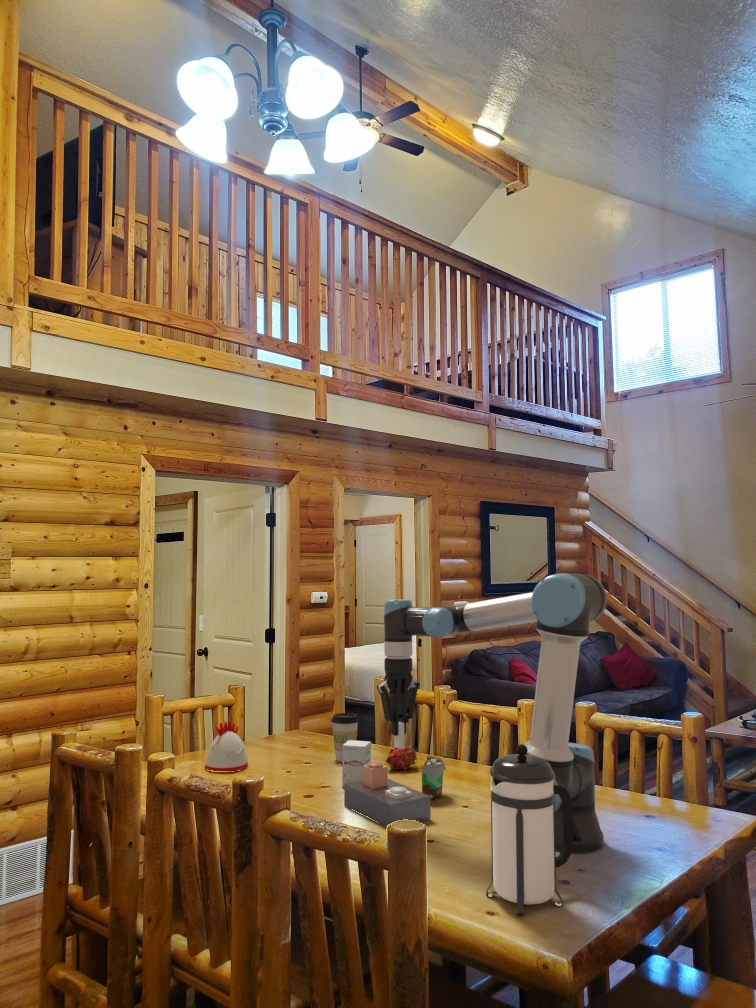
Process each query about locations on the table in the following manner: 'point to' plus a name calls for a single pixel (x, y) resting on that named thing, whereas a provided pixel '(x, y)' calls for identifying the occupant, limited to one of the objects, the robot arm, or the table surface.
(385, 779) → the terracotta plunger
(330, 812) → the table surface
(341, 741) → the coffee cup
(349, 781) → the supplement box
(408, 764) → the dragon fruit
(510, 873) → the coffee press
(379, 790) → the block
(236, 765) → the kitchen timer
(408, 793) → the dome-topped white cube
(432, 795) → the food container
